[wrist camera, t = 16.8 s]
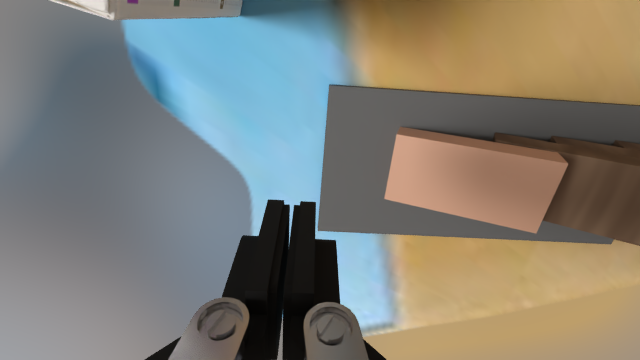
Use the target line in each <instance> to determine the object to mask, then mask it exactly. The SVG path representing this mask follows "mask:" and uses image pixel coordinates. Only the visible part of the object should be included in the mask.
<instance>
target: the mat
mask: <svg viewBox="0 0 640 360" xmlns="http://www.w3.org/2000/svg"><path fill="white" fill-rule="evenodd" d="M400 127H406V128H412V129H418V130H424V131H430V132H436V133H442V134H448V135H454V136H460V137H466V138H472V139H478V140H485V141H491V142H492V140H493V137H494V134H495V132H496V133H502V134H508V135H513V136H519V137H524V138H530V139H535V140H541V141H547V142H549V141H550V139H551V136H557V137H563V138H569V139H575V140H581V141H586V142H592V143H598V144H604V145H609V146H612V145H613V143H614V141H615V140H618V141H624V142H630V143H636V144H640V105H626V104H611V103H596V102H581V101H566V100H551V99H536V98H521V97H506V96H491V95H477V94H462V93H447V92H432V91H417V90H402V89H387V88H372V87H357V86H343V85H329V94H328V107H327V120H326V132H325V145H324V158H323V170H322V183H321V196H320V208H319V221H318V231H333V232H355V233H377V234H399V235H421V236H443V237H465V238H486V239H508V240H530V241H552V242H574V243H596V244H611V243H612V242H613V240H614V239H612V238H608V237H604V236H600V235H596V234H592V233H589V232H585V231H581V230H577V229H573V228H569V227H565V226H561V225H558V224H554V223H550V222H546V221H542V222H541V224H540V226H539V229H538V231H537V233H531V232H527V231H523V230H518V229H514V228H509V227H505V226H501V225H496V224H492V223H487V222H483V221H479V220H474V219H470V218H465V217H461V216H457V215H452V214H448V213H444V212H439V211H435V210H430V209H426V208H422V207H417V206H413V205H408V204H404V203H400V202H395V201H391V200H386V199H384V198H385V192H386V187H387V182H388V177H389V171H390V166H391V161H392V156H393V150H394V145H395V140H396V135H397V132H398V130H399V128H400Z"/></svg>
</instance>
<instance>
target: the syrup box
mask: <svg viewBox="0 0 640 360" xmlns="http://www.w3.org/2000/svg"><path fill="white" fill-rule="evenodd" d="M50 1H53V2H56V3H59V4H64V5H67V6H69V7H72V8H75V9H78V10H81V11H85V12H88V13H91V14H95V15H98V16H101V17H104V18H107V19H110V20H113V21H114V20H127V19H173V18H176V19H178V18H216V17H238V16H239V15H240V13H241V7H242V1H243V0H50Z"/></svg>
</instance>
